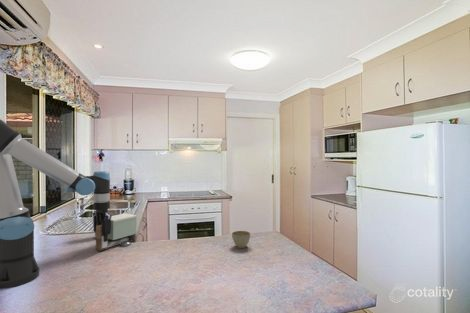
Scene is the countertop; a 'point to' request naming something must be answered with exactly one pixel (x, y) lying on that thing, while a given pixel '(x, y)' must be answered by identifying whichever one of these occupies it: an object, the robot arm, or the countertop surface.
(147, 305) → the countertop surface
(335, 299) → the countertop surface
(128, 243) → the token
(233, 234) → the flower pot
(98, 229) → the brown angled piece
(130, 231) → the pale green box
